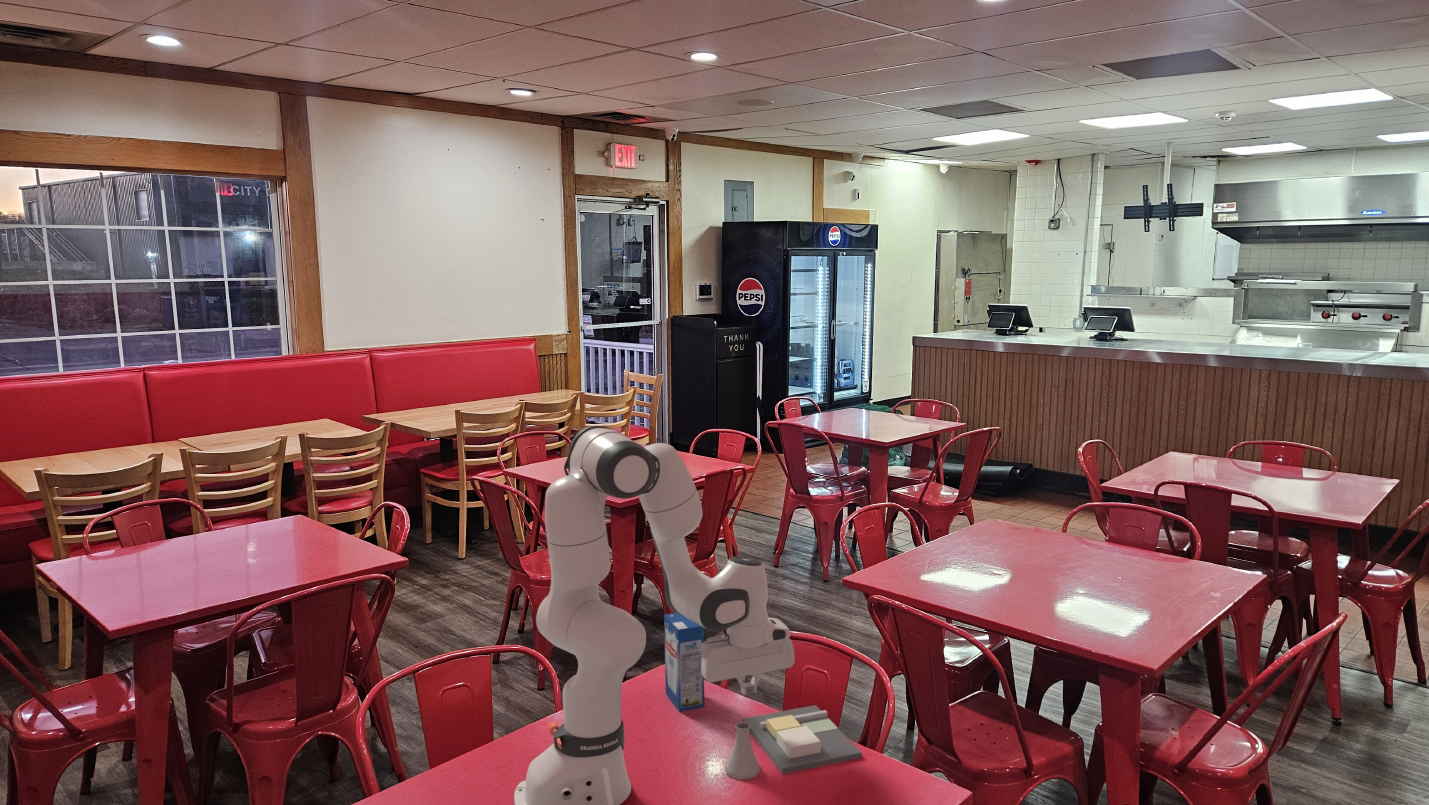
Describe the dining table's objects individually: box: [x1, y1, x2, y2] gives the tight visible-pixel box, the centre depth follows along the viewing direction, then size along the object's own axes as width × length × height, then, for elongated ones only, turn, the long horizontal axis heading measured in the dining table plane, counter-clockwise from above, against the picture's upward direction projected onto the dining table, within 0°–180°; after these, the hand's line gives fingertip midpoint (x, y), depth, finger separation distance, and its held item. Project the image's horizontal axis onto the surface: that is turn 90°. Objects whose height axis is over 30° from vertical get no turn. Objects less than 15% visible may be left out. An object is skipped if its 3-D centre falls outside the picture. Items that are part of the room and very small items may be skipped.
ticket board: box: [742, 704, 863, 775], centre depth 197 cm, size 18×22×4 cm
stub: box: [767, 715, 801, 739], centre depth 198 cm, size 6×5×2 cm
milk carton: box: [663, 612, 705, 713], centre depth 214 cm, size 10×6×20 cm, turn 22°
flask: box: [725, 720, 762, 780], centre depth 185 cm, size 7×7×10 cm
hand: (748, 692), depth 194 cm, fingers closed
